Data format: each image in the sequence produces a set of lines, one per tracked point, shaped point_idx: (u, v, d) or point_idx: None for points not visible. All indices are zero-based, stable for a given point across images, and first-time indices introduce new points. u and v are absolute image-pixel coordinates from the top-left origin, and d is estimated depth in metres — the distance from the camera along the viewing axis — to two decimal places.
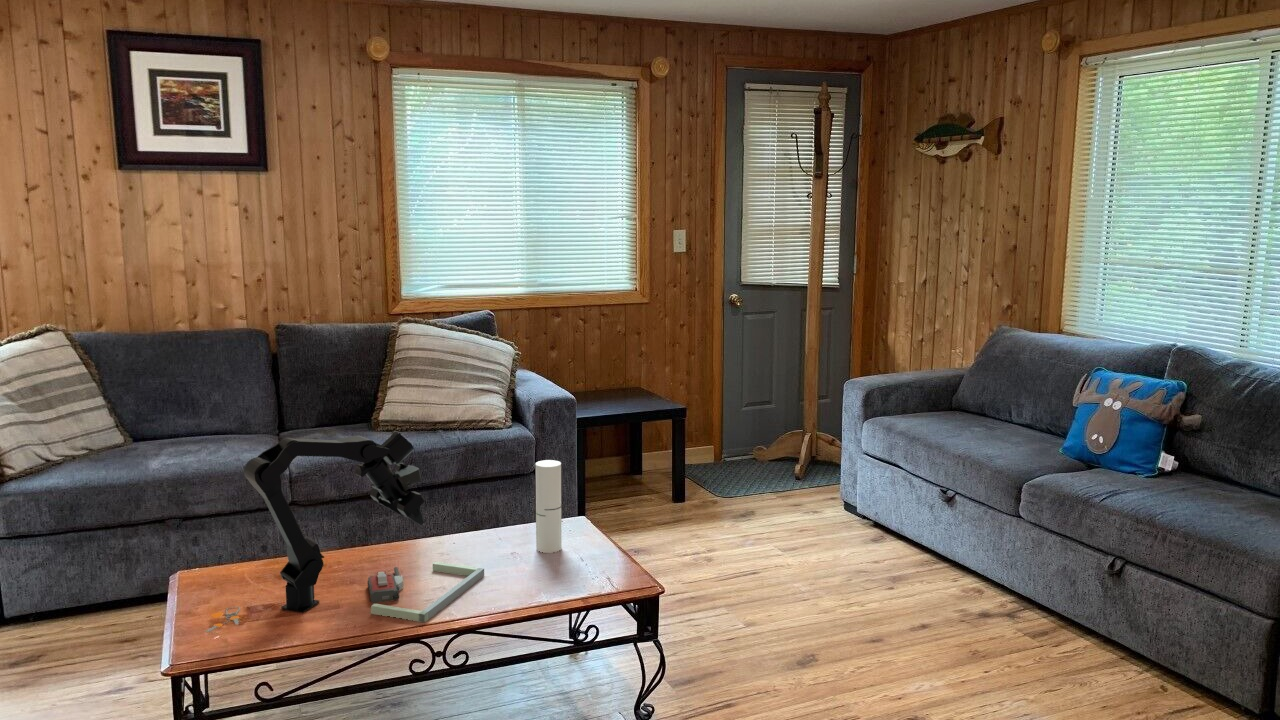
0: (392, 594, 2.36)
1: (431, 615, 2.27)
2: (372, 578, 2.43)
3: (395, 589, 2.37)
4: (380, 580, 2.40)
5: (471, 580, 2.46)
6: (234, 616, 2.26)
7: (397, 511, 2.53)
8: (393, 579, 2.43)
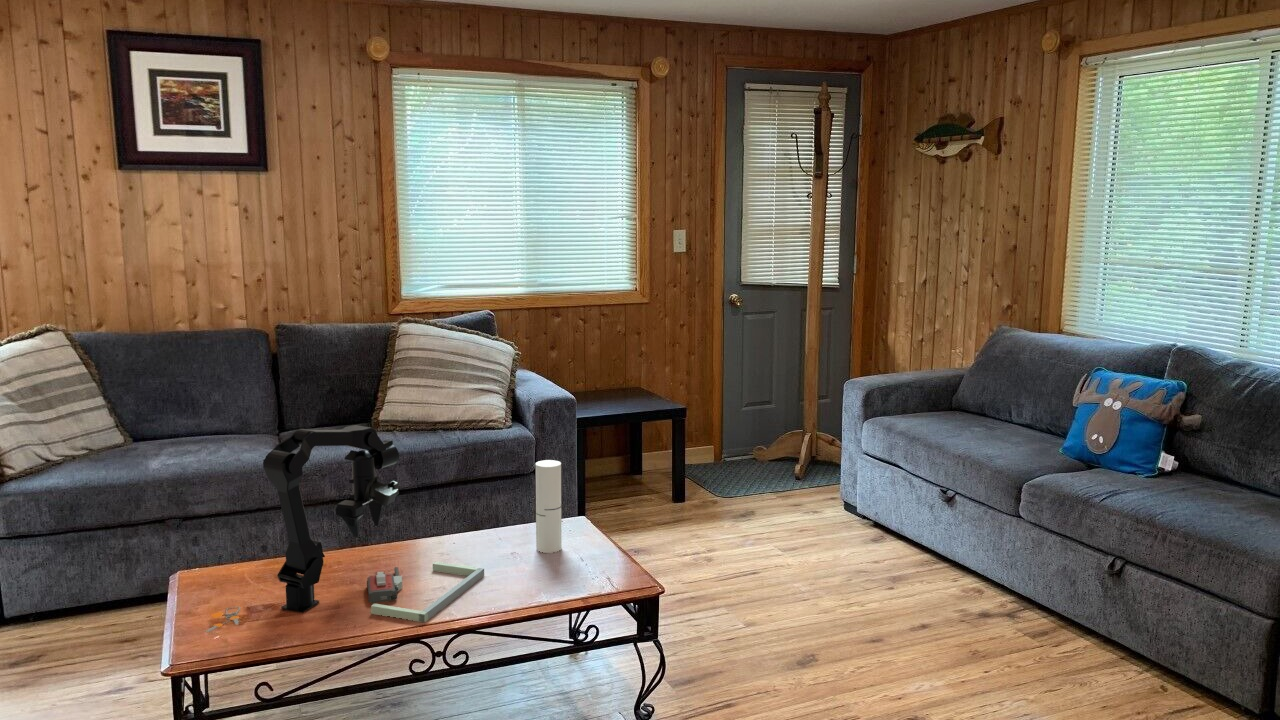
0: (390, 594, 2.36)
1: (431, 615, 2.27)
2: (371, 578, 2.43)
3: (393, 589, 2.37)
4: (379, 580, 2.40)
5: (471, 580, 2.46)
6: (234, 616, 2.26)
7: (372, 517, 2.54)
8: (392, 579, 2.43)
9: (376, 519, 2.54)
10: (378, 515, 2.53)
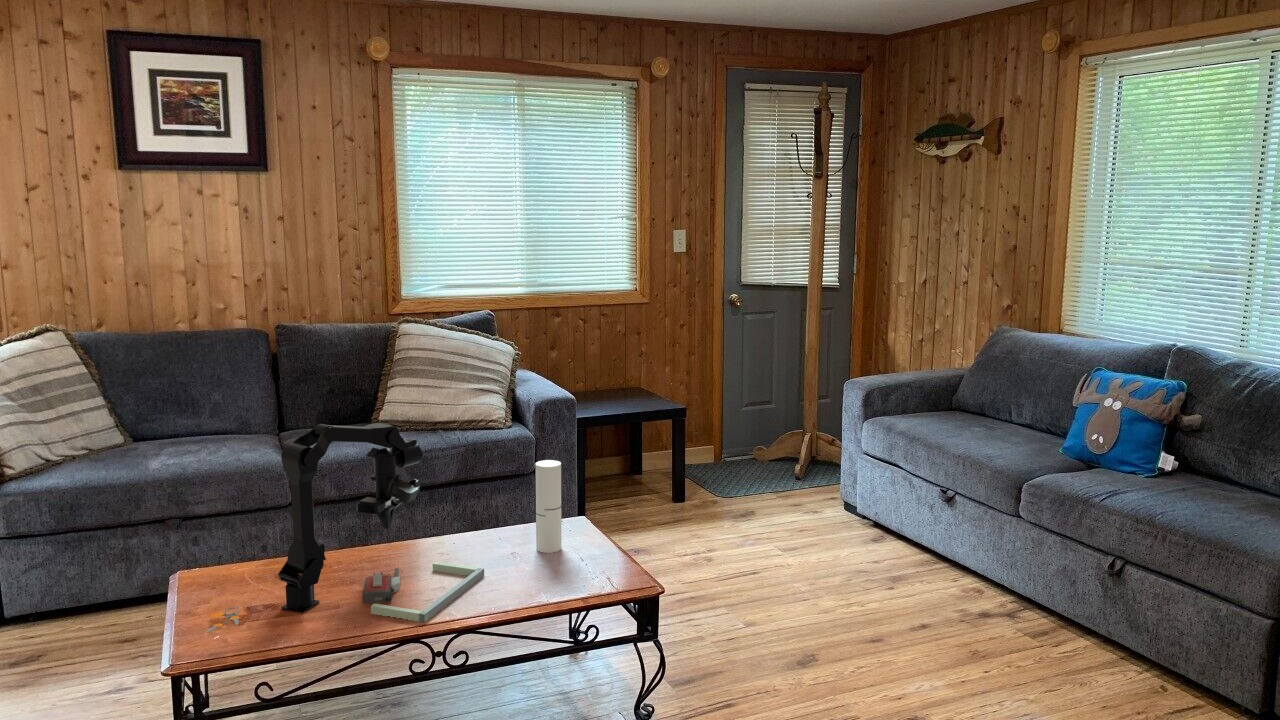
0: (385, 595, 2.35)
1: (431, 615, 2.27)
2: (369, 578, 2.43)
3: (388, 591, 2.36)
4: (375, 581, 2.39)
5: (471, 580, 2.46)
6: (234, 616, 2.26)
7: None
8: (389, 580, 2.42)
9: None
10: (390, 518, 2.52)
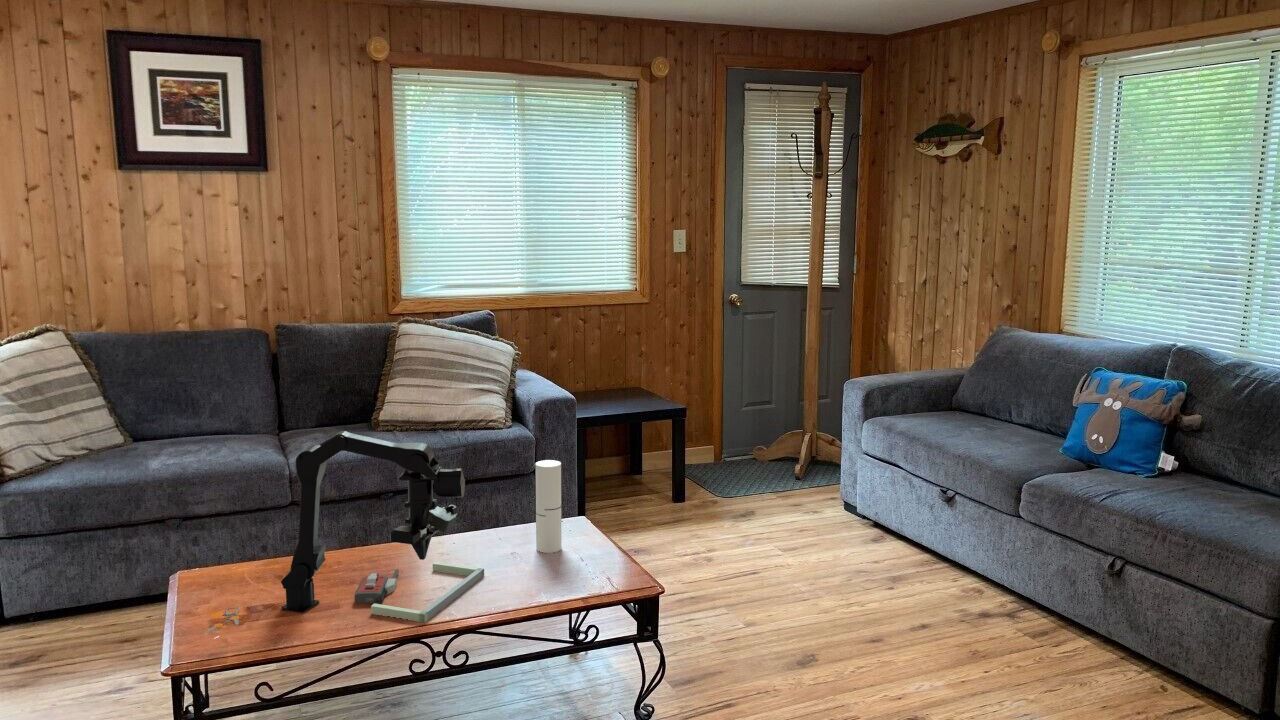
0: (375, 597, 2.34)
1: (431, 615, 2.27)
2: (365, 579, 2.43)
3: (379, 592, 2.35)
4: (369, 582, 2.39)
5: (471, 580, 2.46)
6: (234, 616, 2.26)
7: None
8: (384, 582, 2.42)
9: None
10: None
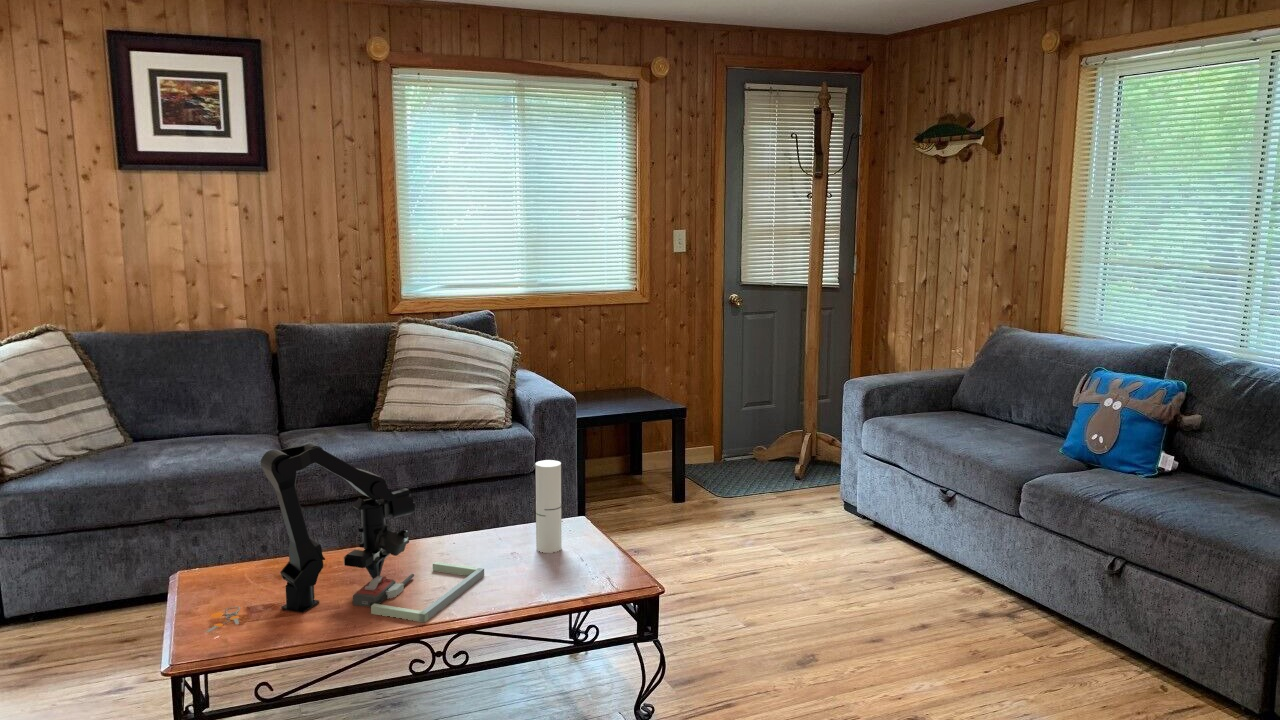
0: (371, 601, 2.32)
1: (431, 615, 2.27)
2: None
3: (375, 596, 2.33)
4: (371, 584, 2.37)
5: (471, 580, 2.46)
6: (234, 616, 2.26)
7: None
8: (388, 586, 2.39)
9: None
10: None
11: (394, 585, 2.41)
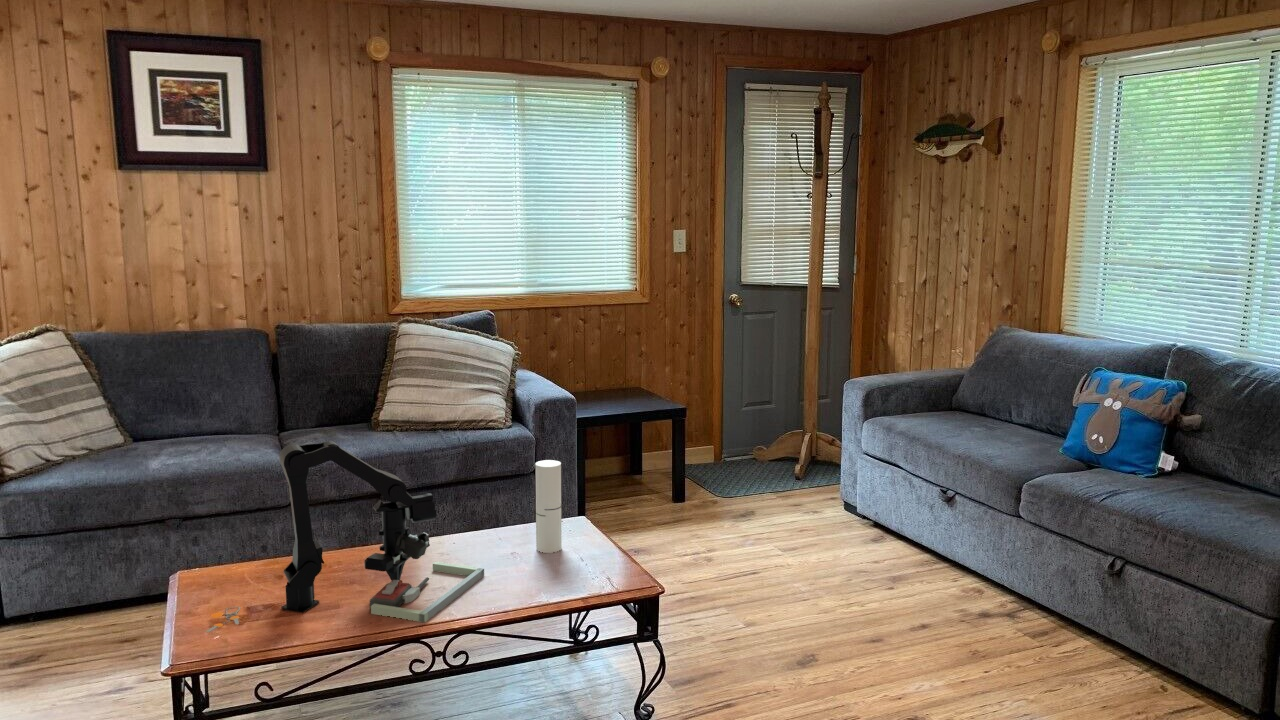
0: (388, 605, 2.30)
1: (431, 615, 2.27)
2: (388, 585, 2.39)
3: (393, 600, 2.30)
4: (387, 588, 2.35)
5: (471, 580, 2.46)
6: (234, 616, 2.26)
7: None
8: (404, 590, 2.37)
9: None
10: None
11: (410, 589, 2.38)
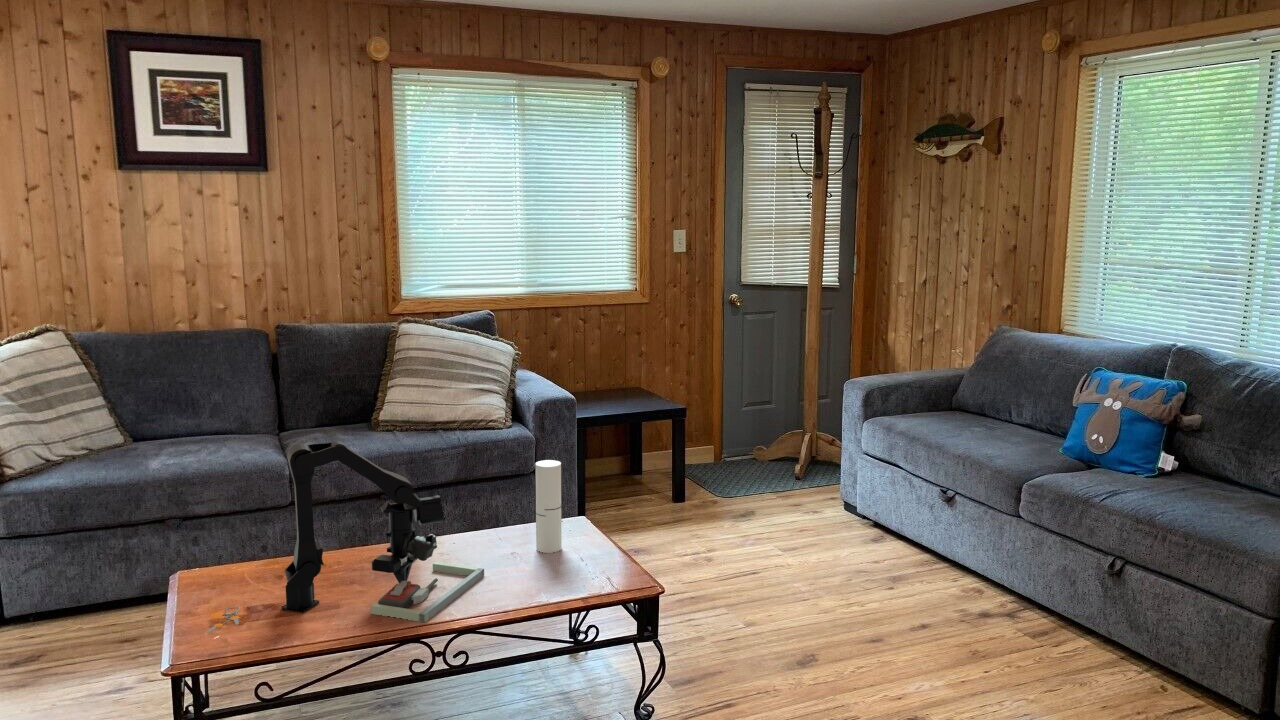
0: (397, 606, 2.29)
1: (431, 615, 2.27)
2: None
3: (401, 602, 2.30)
4: (396, 589, 2.34)
5: (471, 580, 2.46)
6: (234, 616, 2.26)
7: None
8: (413, 591, 2.36)
9: None
10: None
11: (419, 590, 2.38)
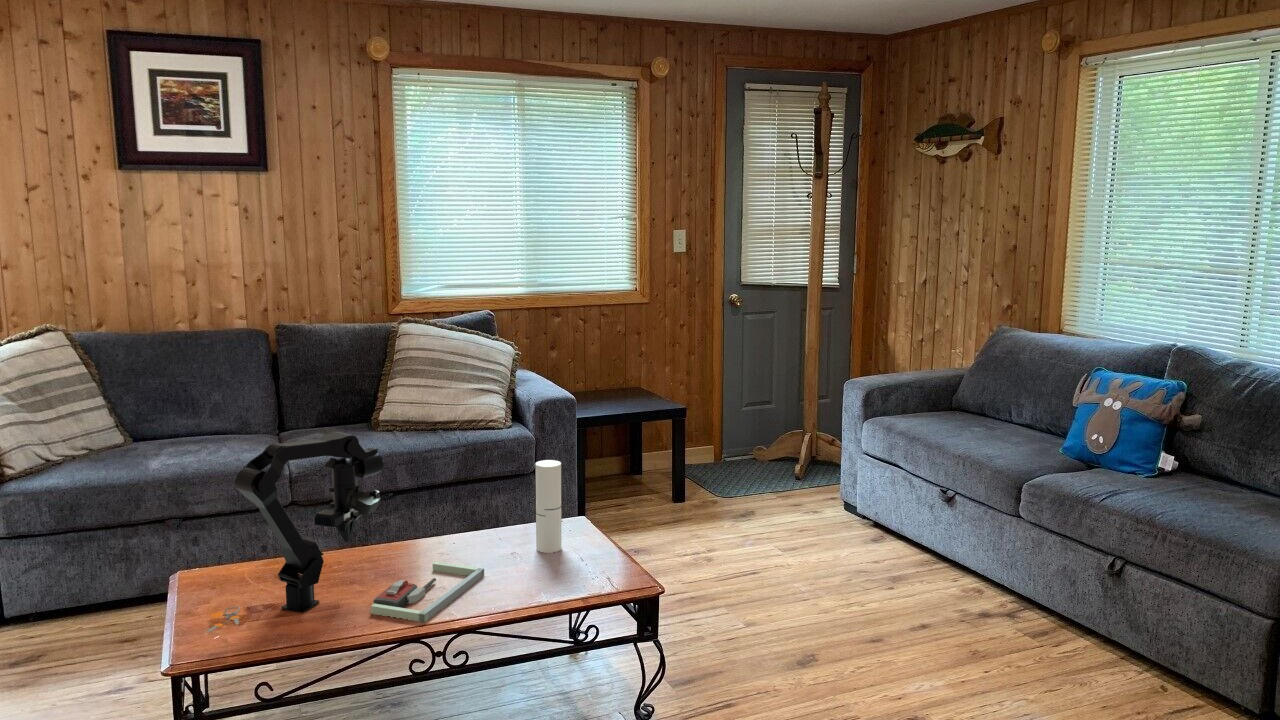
0: (391, 605, 2.29)
1: (431, 615, 2.27)
2: None
3: (396, 601, 2.30)
4: (392, 588, 2.35)
5: (471, 580, 2.46)
6: (234, 616, 2.26)
7: None
8: (409, 590, 2.36)
9: None
10: None
11: (415, 590, 2.38)
